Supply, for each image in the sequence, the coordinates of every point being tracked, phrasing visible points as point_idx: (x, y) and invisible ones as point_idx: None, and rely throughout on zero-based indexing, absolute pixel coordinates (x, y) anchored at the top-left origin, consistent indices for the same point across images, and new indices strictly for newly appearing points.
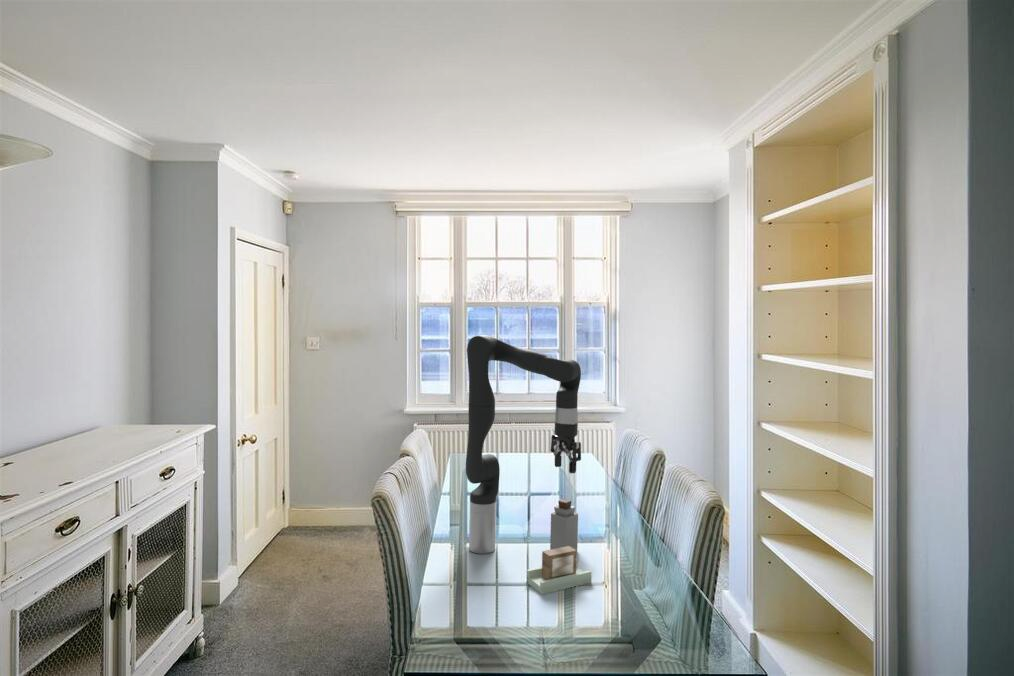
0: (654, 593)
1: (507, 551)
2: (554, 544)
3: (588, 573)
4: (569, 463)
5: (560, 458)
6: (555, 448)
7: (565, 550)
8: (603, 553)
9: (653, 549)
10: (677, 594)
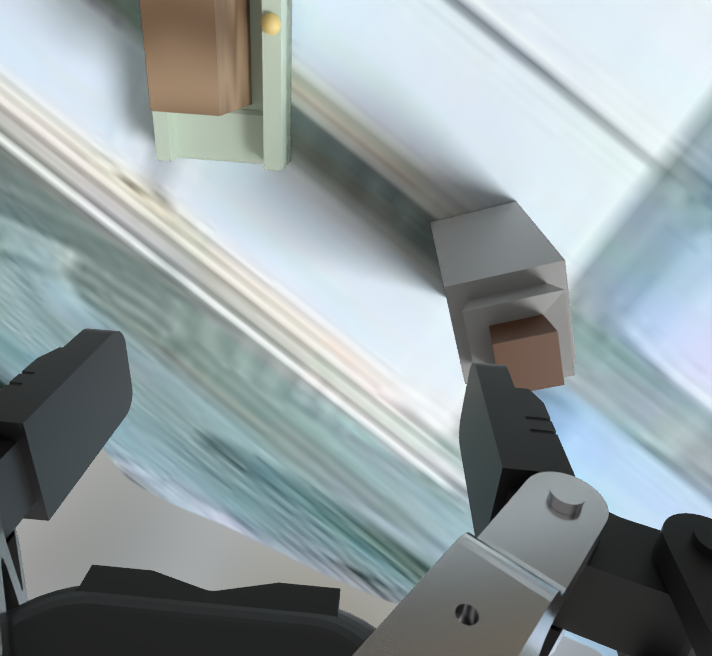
0: (30, 291)
1: (652, 2)
2: (498, 216)
3: (157, 142)
4: (34, 404)
5: (476, 508)
6: (515, 594)
7: (170, 51)
8: (375, 366)
9: (316, 510)
10: (6, 345)
